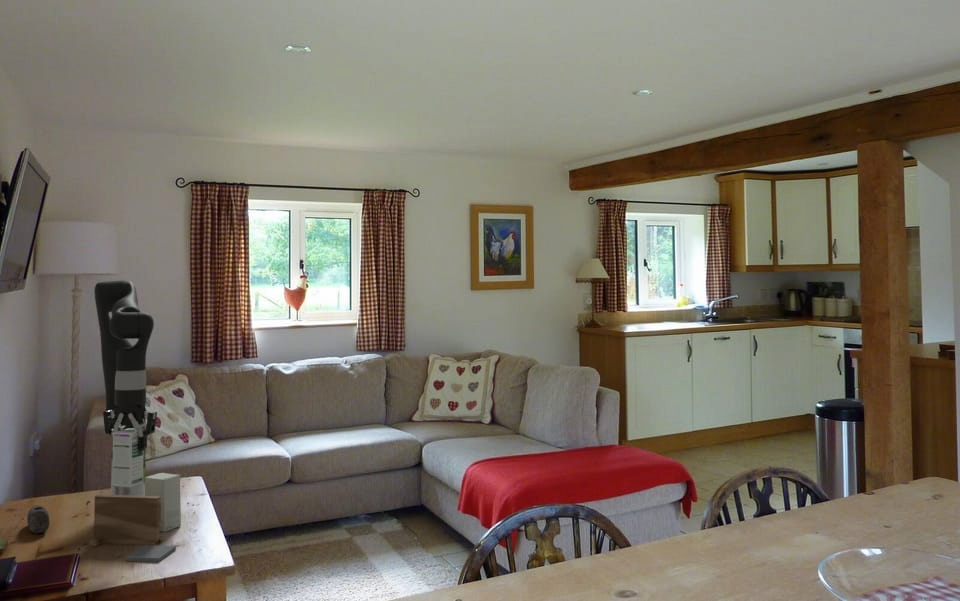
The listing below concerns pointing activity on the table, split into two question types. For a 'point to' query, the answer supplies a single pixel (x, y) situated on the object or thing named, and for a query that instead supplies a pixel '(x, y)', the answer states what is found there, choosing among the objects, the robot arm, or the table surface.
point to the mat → (150, 553)
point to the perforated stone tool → (38, 519)
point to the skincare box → (166, 498)
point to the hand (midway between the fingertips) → (129, 449)
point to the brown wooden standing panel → (127, 520)
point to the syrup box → (127, 459)
